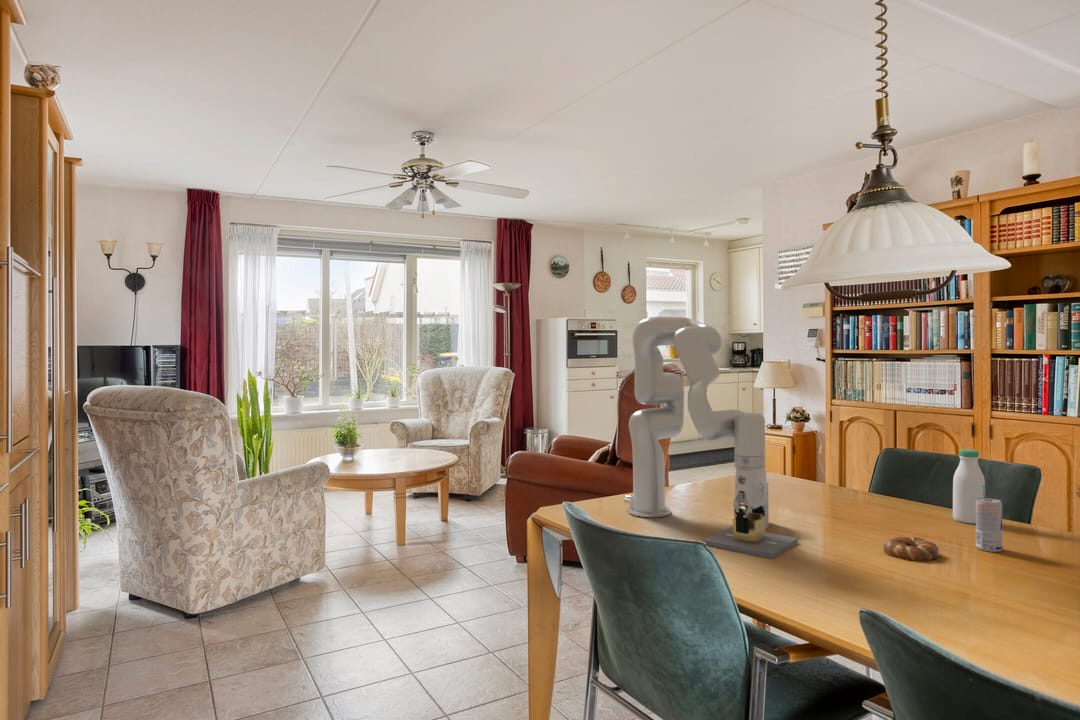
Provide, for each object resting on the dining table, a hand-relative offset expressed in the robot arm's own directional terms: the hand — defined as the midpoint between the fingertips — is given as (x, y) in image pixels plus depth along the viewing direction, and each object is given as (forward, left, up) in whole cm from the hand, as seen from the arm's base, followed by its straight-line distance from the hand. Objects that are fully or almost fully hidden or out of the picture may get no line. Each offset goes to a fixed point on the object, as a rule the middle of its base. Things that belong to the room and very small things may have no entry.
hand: (750, 528), depth 170 cm
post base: (0, 0, -4) cm, 4 cm away
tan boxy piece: (0, 0, -3) cm, 3 cm away
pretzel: (+33, +15, -4) cm, 37 cm away
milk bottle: (+39, +57, -4) cm, 69 cm away
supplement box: (-7, +18, -4) cm, 20 cm away
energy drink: (+47, +31, -4) cm, 56 cm away
